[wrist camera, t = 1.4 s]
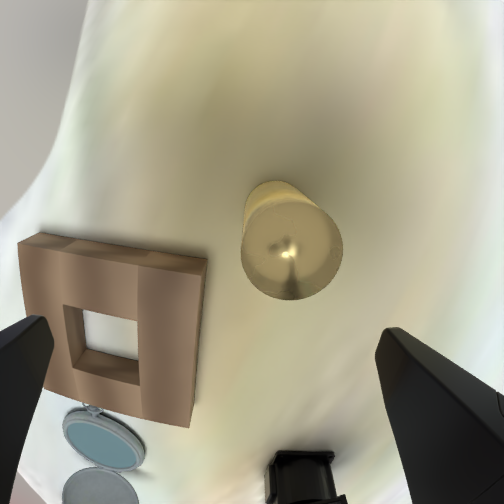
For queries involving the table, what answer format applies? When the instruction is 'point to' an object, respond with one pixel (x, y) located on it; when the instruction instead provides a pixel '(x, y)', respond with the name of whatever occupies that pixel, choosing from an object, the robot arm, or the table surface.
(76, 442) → the pocket watch
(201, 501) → the table surface
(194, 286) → the jig block
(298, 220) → the gold cylinder
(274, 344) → the table surface
